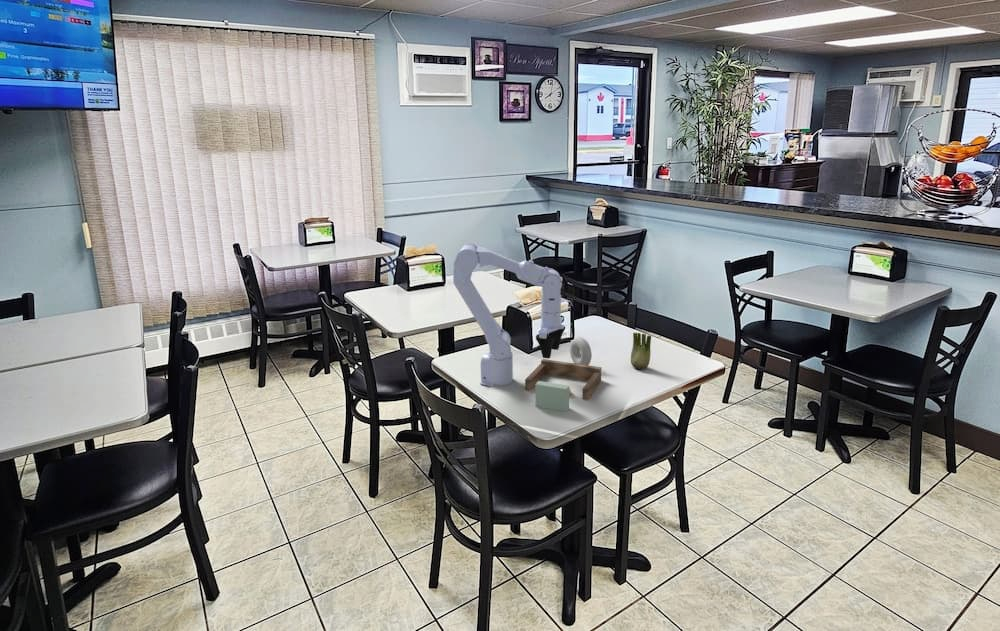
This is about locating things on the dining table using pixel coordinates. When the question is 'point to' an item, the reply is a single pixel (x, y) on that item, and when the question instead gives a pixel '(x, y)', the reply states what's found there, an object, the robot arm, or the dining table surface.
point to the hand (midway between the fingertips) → (550, 353)
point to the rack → (567, 374)
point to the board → (552, 396)
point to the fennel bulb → (640, 351)
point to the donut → (585, 349)
